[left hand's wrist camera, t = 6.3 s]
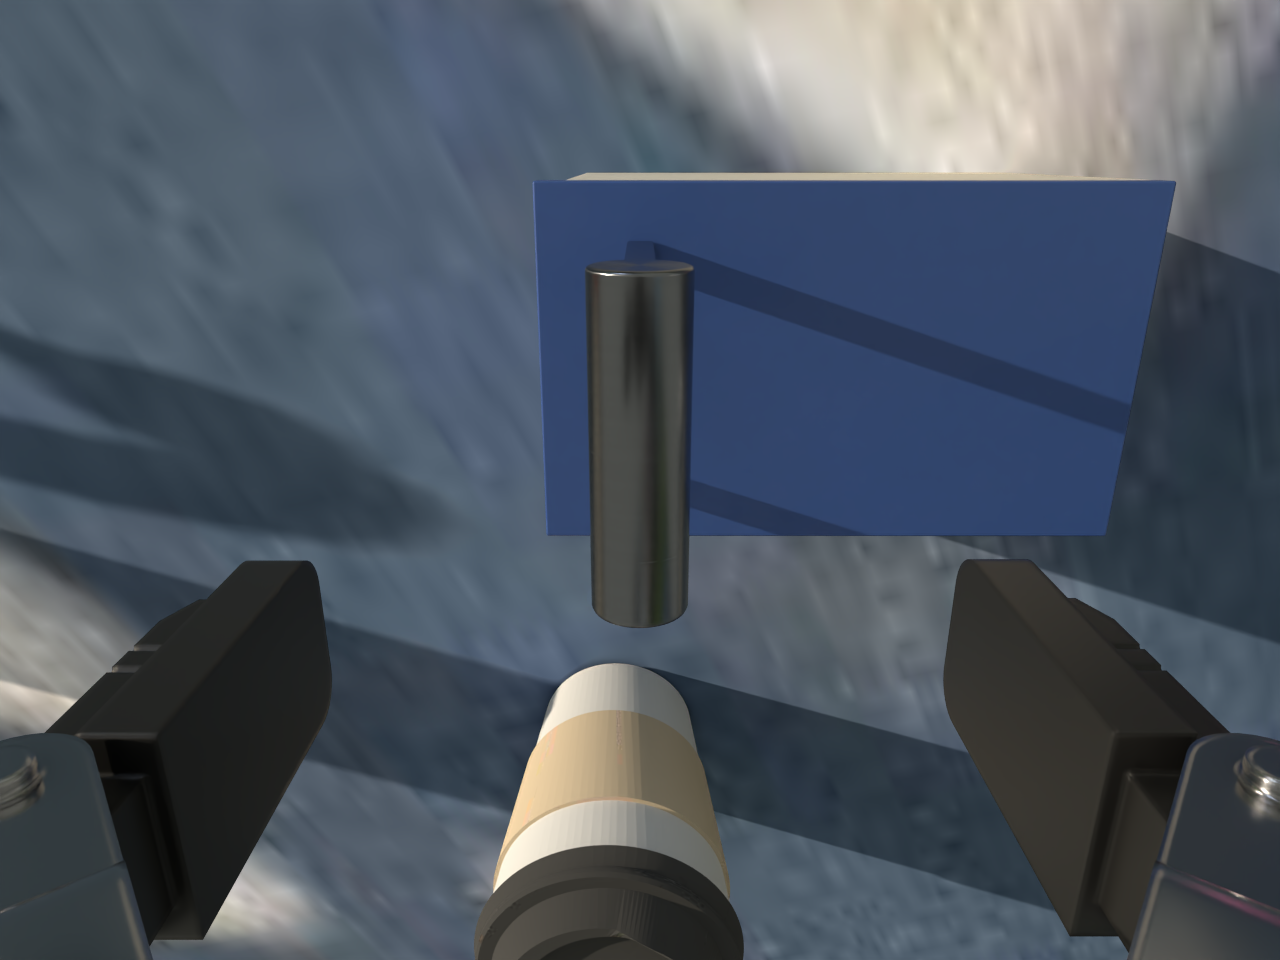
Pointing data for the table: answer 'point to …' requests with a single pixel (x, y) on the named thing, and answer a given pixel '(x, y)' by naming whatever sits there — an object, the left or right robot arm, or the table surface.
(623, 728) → the coffee cup
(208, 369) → the table surface
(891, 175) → the chest
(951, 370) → the lid
